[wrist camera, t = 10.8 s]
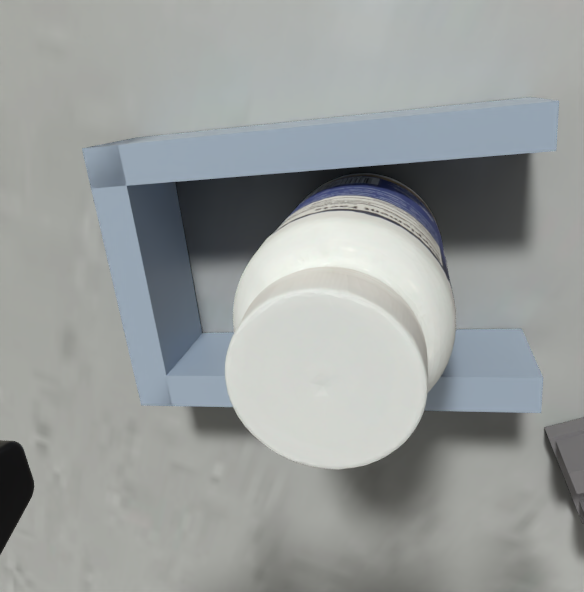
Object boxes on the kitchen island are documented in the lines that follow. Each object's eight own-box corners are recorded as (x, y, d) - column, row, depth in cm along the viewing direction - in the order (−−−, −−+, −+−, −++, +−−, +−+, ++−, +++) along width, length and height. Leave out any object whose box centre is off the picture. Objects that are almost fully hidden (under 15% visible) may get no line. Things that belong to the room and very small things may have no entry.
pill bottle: (390, 342, 20) (374, 541, 12) (264, 272, 20) (152, 417, 12) (474, 219, 18) (533, 349, 9) (333, 140, 18) (260, 196, 9)
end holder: (531, 97, 17) (559, 100, 13) (520, 359, 20) (541, 412, 16) (135, 137, 20) (81, 148, 16) (179, 359, 23) (141, 405, 19)
